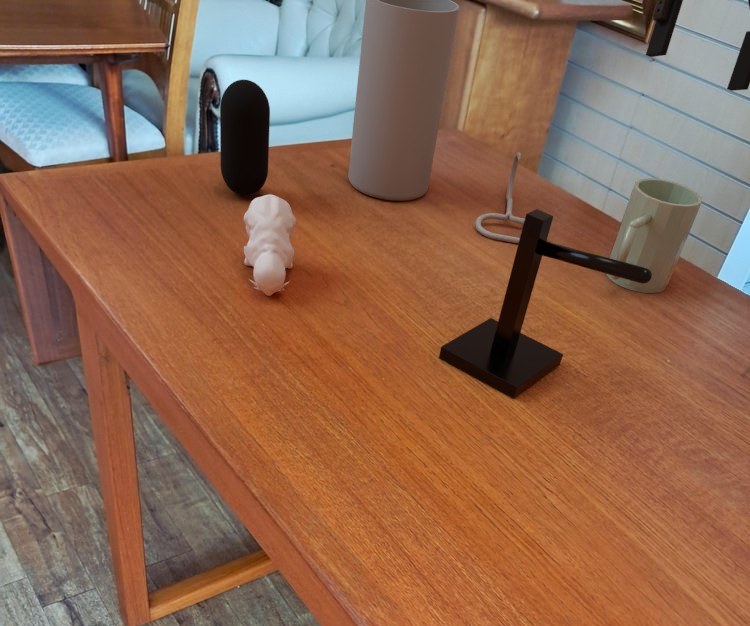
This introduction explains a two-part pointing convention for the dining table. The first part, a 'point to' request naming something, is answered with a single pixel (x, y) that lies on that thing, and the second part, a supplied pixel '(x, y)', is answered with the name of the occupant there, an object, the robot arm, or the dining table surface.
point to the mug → (654, 231)
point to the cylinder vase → (400, 95)
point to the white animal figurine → (269, 242)
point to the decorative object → (244, 137)
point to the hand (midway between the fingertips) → (697, 73)
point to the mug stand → (503, 338)
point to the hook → (508, 213)
